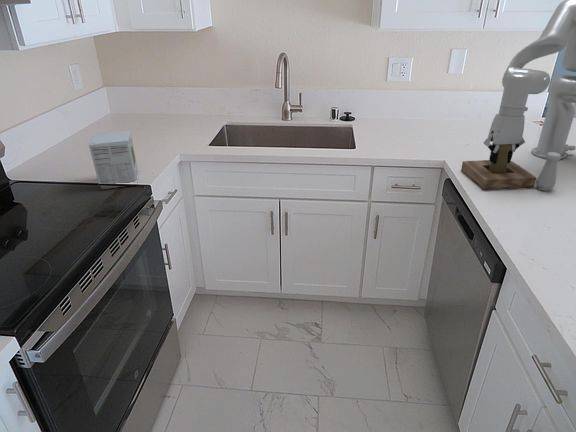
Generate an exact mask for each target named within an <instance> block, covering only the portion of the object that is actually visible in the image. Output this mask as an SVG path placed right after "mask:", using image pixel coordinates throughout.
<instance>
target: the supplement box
mask: <svg viewBox="0 0 576 432" xmlns="http://www.w3.org/2000/svg"><path fill="white" fill-rule="evenodd" d="M88 147H89V151H90V155H91V159H92V162H93V167H94V171H95V174H96V179H97V182H98V185H99V184H116V183H130V182H135V181H136V180H137V175H138V172H139V168H138V163H137V159H136V152H135V149H134V144H133V138H132V134H131V131H130V130H124V131H113V132H102V133H94V134H93V136H92V138H91V140H90V142H89V144H88Z"/></svg>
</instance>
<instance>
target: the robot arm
mask: <svg viewBox="0 0 576 432" xmlns="http://www.w3.org/2000/svg"><path fill="white" fill-rule="evenodd" d="M564 48H565V49H564ZM563 50H564V54H563V58H562V63H561V67H562V69H563V70H564V71H567V72H570V73H571V72H573V73H576V0H563V1H562V2H560V3H559V4H558V5H557V6H556V8H555V10H554V12H553V13H552V15H551V17H550V19H549V21H548V22H547V24H546V26H545V28H544V29H543V31H542V33H541V35H540V36H539V38H537V39H536V40H534V41H533V42H530V43H529V44H528V45H527V46H525V47H524V48H522V49H521V50H519V51H518V52H517V53H516V54H515V55H514V56H513V58H512V59H511V60H510V62H509V64H508V66H507V67H506V69H505V72H504V73H503V76H502V79H501V81H502V82H501V84H502V87H503V92H502V96H501V102H500V105H499V110H498V113H496V114H495V116H494V118H493V119H492V122H491V125H490V128H489V131H488V136H487V138H485V140H484V141H483V144H484V145H485V146H486V147H487V148H488V149H489V151H490V155H489V158H488V160H490V162H492V163H493V164H495V163H496V160H497V156H498V153H497V150H498V148H499V146H500V145H506V144H511V150H510V151H509V152H508V161H507V163H510V161H512V158H513V154H514V153H515V152H516V150H517V149H518V148H520V146H522V145H525V143H526V140H525V139H524V137H523V135H524V130H525V120H526V119H525V117H526V115H524V114H525V112H528V111H529V109H528V107H527V106H526V105H527V102H528V97H529V95H539V94H541V93H544V92H545V91H546V90H547V89H548V88H549V99H548V100H549V101H548V105H547V109H546V113H545V117H544V120H543V124H542V128H541V130H540V135H539V139H538V143H537V146H536V147H534V148H532V149H531V154H532V155H533V156H536V157H539V158H541V159H546V155H547V153H549V152H555V153H559V154H560V155H561V159H560V160H563V159H566V157H567V156H568V154H567V152H568V151H576V145H569V144H566V143H567V141H568V137H569V133H570V130H571V127H572V124H573V121H574V117H575V113H576V112H575V108H574V105H573V103H575V104H576V75H571V74H562V75H559V76H556V77H555V78H554V79H553V81H552V82H551V76H550V74H549V73H548V72H546V71H544V70H539V69H532V68H524V67H525V66H526V65H527V64H529V63H530V62H532V61H534V60H536V59H539V58H543V57H546V56H549V55H554V54H556V53H559V52H561V51H563ZM550 83H551V84H550ZM549 85H550V87H549ZM491 142H492V143H491Z"/></svg>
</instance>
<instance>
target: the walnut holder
mask: <svg viewBox="0 0 576 432" xmlns="http://www.w3.org/2000/svg"><path fill="white" fill-rule="evenodd" d="M490 164H491V162H490V160H489V159H486V160H485V159H484V160H481V159H480V160H463V161H462V164H461V169H460V172H461V173H463V174H464V175H465V176H466V177H467V178H468V179H469V180H470V181H472V182H473V183H474V184H475V185H476V186H478V187H479V188H480V189H481V190H482V191H484V192H485V191H486V192H487V191H500V190H499V189H507V190H519V189H518V188H527V189H534V188H535V185H536V181H537V179H538V177H536V176H535V175H534V174H532V173H530V171H528V170H526V169H525V168H523V167H522V166H520V165H518V164H517V163H515V161H513V160H511V161H510V163H507V171H506V173H498V174H492V173H491V172H490V171H489V170H488V169H489V167H490Z"/></svg>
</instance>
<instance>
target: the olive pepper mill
mask: <svg viewBox="0 0 576 432" xmlns="http://www.w3.org/2000/svg"><path fill="white" fill-rule="evenodd" d="M510 150H511V144H506V145H500V146H499V148H498V150H497V153H498V156H497V160H496V163H495V164H493V163H492V162H491V164H490V167H489V169H488V170H489V171H490V172H491V173H492V174H498V173H506V171H507V161H508V152H509V151H510Z"/></svg>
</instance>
